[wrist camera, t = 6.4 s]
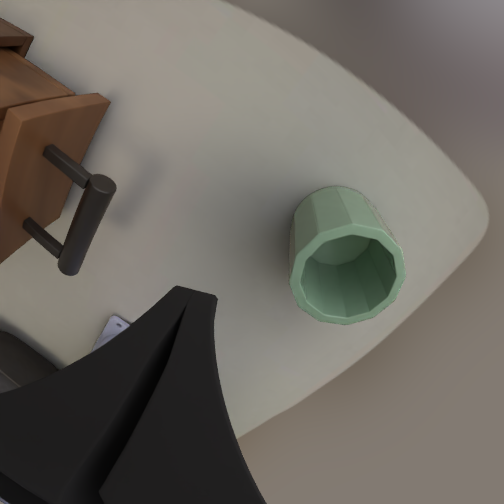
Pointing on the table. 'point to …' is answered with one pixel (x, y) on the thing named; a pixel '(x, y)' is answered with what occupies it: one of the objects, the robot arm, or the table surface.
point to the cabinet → (14, 38)
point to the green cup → (343, 257)
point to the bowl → (20, 364)
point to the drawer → (47, 161)
